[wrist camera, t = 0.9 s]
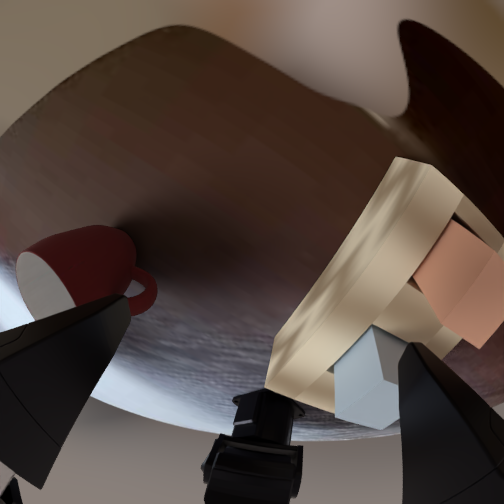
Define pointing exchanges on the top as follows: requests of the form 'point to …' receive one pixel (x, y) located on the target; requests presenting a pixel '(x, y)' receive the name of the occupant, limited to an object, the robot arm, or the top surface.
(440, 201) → the socket block
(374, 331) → the peg
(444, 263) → the peg
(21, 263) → the mug
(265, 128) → the top surface
